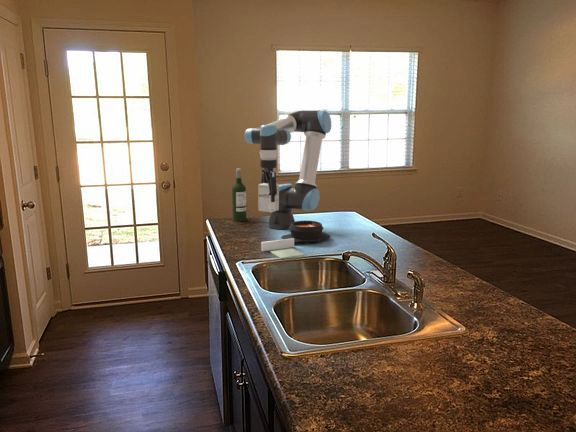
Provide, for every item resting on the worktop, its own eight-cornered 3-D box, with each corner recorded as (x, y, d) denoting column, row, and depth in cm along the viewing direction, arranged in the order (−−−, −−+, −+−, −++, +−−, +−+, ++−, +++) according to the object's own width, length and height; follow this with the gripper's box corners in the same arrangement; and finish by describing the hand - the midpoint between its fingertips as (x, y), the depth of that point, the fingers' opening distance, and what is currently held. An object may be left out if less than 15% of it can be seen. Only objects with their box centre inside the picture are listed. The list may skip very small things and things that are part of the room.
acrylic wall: (293, 246, 224) (293, 238, 223) (294, 247, 223) (294, 238, 222) (261, 250, 217) (261, 242, 216) (262, 251, 216) (262, 242, 215)
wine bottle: (239, 222, 274) (238, 169, 268) (229, 220, 279) (228, 168, 273) (249, 219, 280) (248, 168, 274) (239, 218, 285) (238, 167, 279)
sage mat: (292, 249, 220) (292, 248, 219) (303, 255, 210) (303, 254, 210) (270, 252, 215) (270, 251, 215) (280, 258, 205) (280, 257, 205)
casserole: (319, 233, 249) (320, 217, 247) (337, 242, 232) (338, 225, 230) (275, 238, 239) (275, 222, 237) (290, 247, 222) (290, 230, 220)
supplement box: (257, 211, 224) (257, 184, 221) (265, 208, 230) (265, 182, 228) (271, 212, 220) (271, 185, 218) (279, 210, 227) (279, 183, 224)
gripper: (253, 157, 229) (254, 203, 234) (268, 161, 209) (268, 211, 213) (268, 157, 232) (268, 202, 237) (284, 161, 211) (284, 210, 216)
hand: (268, 206), depth 225 cm, fingers closed on supplement box, 10 cm apart
